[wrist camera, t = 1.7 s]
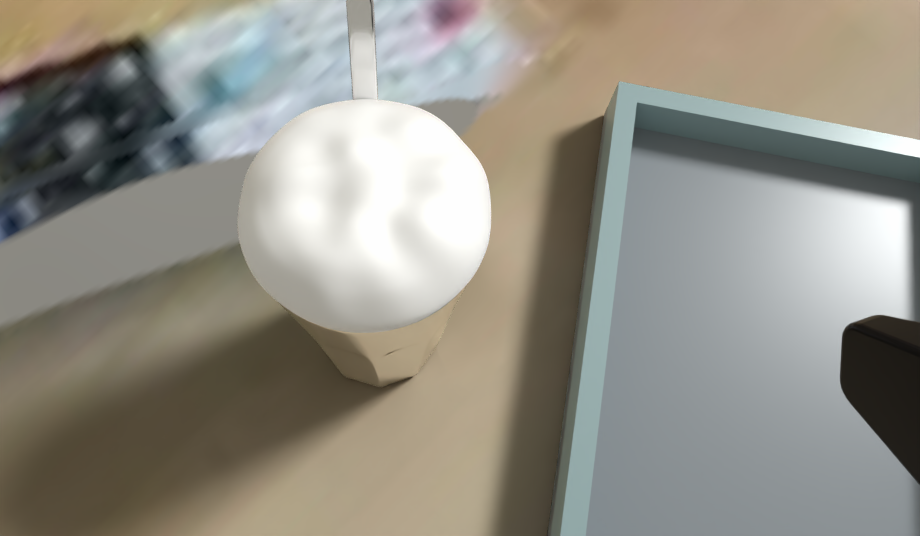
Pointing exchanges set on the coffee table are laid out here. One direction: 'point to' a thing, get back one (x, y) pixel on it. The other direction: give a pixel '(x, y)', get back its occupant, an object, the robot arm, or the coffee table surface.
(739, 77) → the coffee table surface
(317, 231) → the milkshake
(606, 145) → the tray
